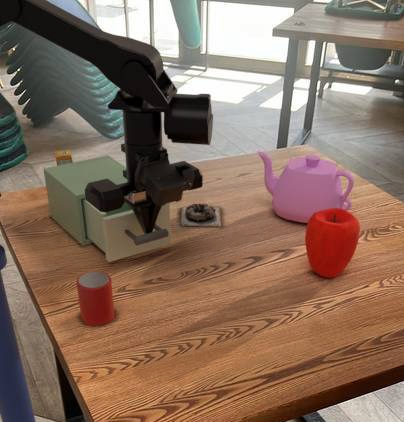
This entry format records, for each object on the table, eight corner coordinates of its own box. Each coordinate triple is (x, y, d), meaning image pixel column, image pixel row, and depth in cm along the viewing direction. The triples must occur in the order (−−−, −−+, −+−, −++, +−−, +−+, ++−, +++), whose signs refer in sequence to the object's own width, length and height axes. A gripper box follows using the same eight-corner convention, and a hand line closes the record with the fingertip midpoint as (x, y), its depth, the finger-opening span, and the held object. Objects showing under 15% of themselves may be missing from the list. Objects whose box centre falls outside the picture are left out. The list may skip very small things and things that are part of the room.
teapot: (352, 207, 120) (363, 150, 112) (344, 235, 110) (356, 175, 102) (259, 193, 124) (264, 138, 117) (243, 219, 114) (248, 160, 107)
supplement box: (60, 198, 120) (53, 150, 114) (77, 196, 121) (71, 149, 115) (62, 205, 118) (55, 156, 111) (79, 203, 118) (73, 154, 112)
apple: (306, 255, 103) (315, 198, 96) (355, 264, 101) (367, 207, 94) (294, 278, 97) (303, 219, 90) (345, 289, 95) (358, 229, 88)
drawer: (184, 254, 101) (184, 213, 96) (122, 274, 95) (118, 231, 90) (133, 216, 112) (131, 177, 107) (75, 231, 106) (70, 191, 102)
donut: (181, 207, 118) (181, 198, 116) (219, 208, 118) (219, 198, 117) (180, 226, 111) (180, 216, 110) (220, 226, 111) (221, 216, 110)
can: (90, 329, 84) (85, 292, 80) (75, 313, 88) (70, 276, 83) (120, 319, 87) (117, 282, 83) (105, 303, 90) (101, 267, 86)
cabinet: (147, 228, 110) (145, 179, 104) (82, 246, 104) (76, 195, 98) (111, 201, 120) (108, 155, 113) (50, 216, 113) (43, 168, 107)
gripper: (113, 169, 77) (121, 270, 87) (224, 144, 85) (220, 239, 95) (77, 145, 84) (89, 241, 94) (183, 124, 92) (184, 214, 102)
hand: (147, 234), depth 96 cm, fingers closed, pressing on drawer
